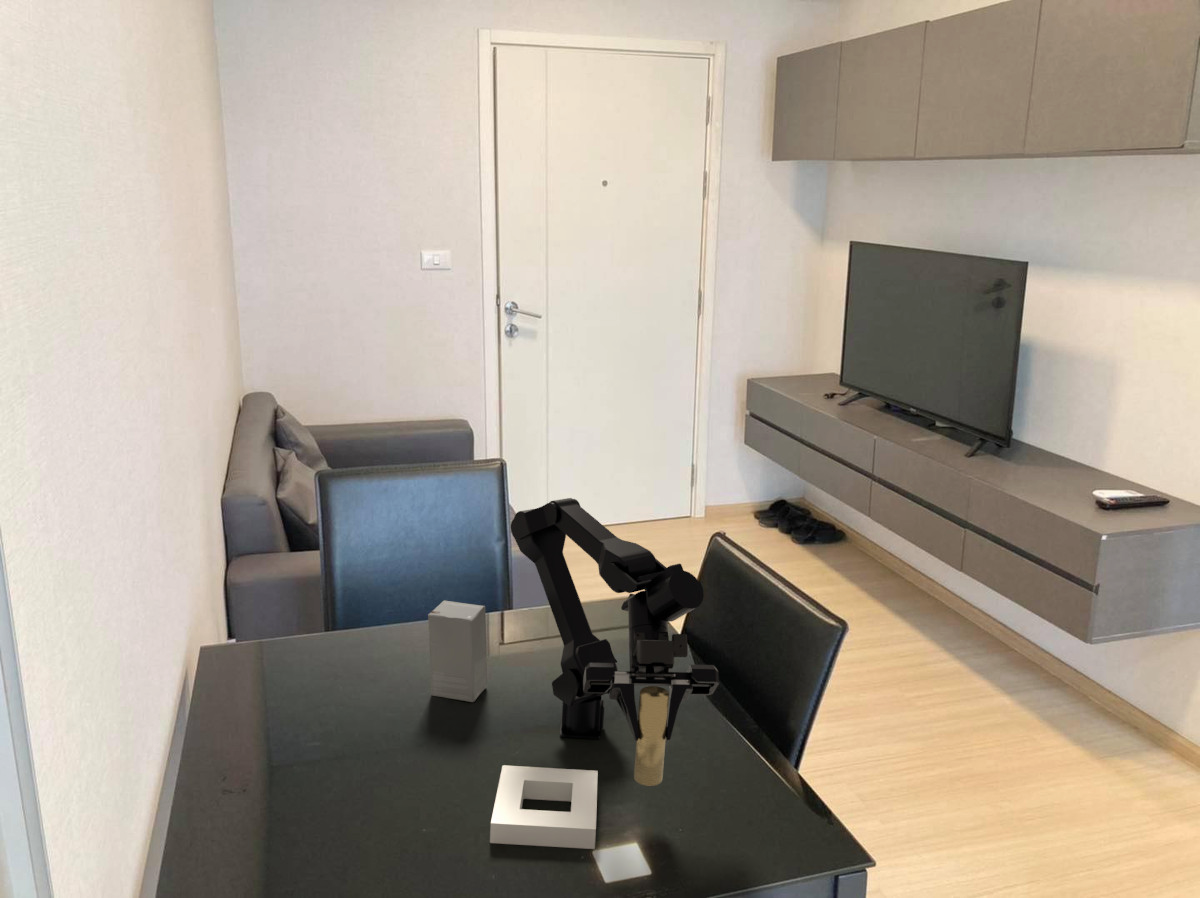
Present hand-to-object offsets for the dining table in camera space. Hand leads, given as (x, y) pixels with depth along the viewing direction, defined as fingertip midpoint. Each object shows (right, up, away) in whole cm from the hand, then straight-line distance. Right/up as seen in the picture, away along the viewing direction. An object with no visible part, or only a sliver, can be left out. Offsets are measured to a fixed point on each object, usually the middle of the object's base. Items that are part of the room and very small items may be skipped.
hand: (652, 740), depth 133 cm
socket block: (-15, -11, +3) cm, 19 cm away
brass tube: (0, -6, +3) cm, 7 cm away
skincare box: (-32, -3, +36) cm, 49 cm away
